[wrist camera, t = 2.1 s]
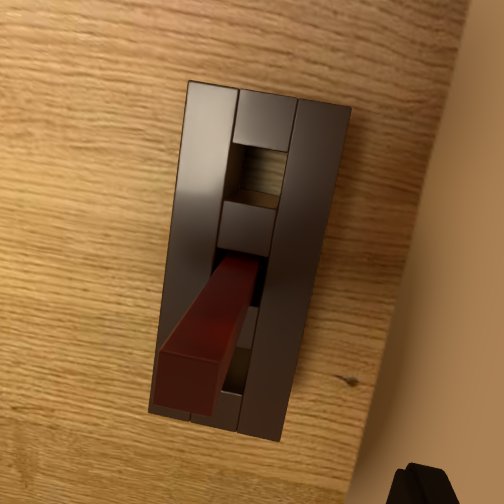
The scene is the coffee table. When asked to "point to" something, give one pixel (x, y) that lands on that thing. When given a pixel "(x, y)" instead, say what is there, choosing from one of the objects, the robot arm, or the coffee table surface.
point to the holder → (251, 237)
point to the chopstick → (206, 338)
